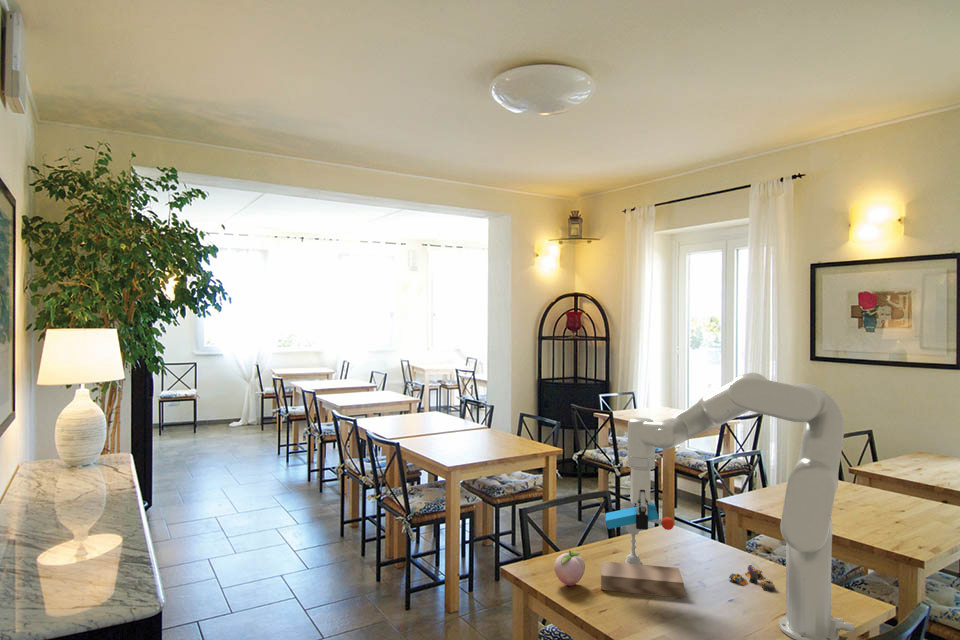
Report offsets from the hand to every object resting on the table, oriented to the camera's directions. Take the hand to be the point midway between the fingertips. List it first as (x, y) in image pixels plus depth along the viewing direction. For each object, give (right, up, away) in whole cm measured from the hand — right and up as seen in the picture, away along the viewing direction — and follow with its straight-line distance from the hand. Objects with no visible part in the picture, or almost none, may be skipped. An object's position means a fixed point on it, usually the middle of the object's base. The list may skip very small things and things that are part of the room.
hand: (640, 523), depth 164 cm
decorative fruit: (-21, -18, 0) cm, 27 cm away
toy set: (+34, -19, +2) cm, 38 cm away
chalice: (+2, -18, +16) cm, 24 cm away
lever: (0, -1, 0) cm, 1 cm away
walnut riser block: (0, -18, 0) cm, 18 cm away
